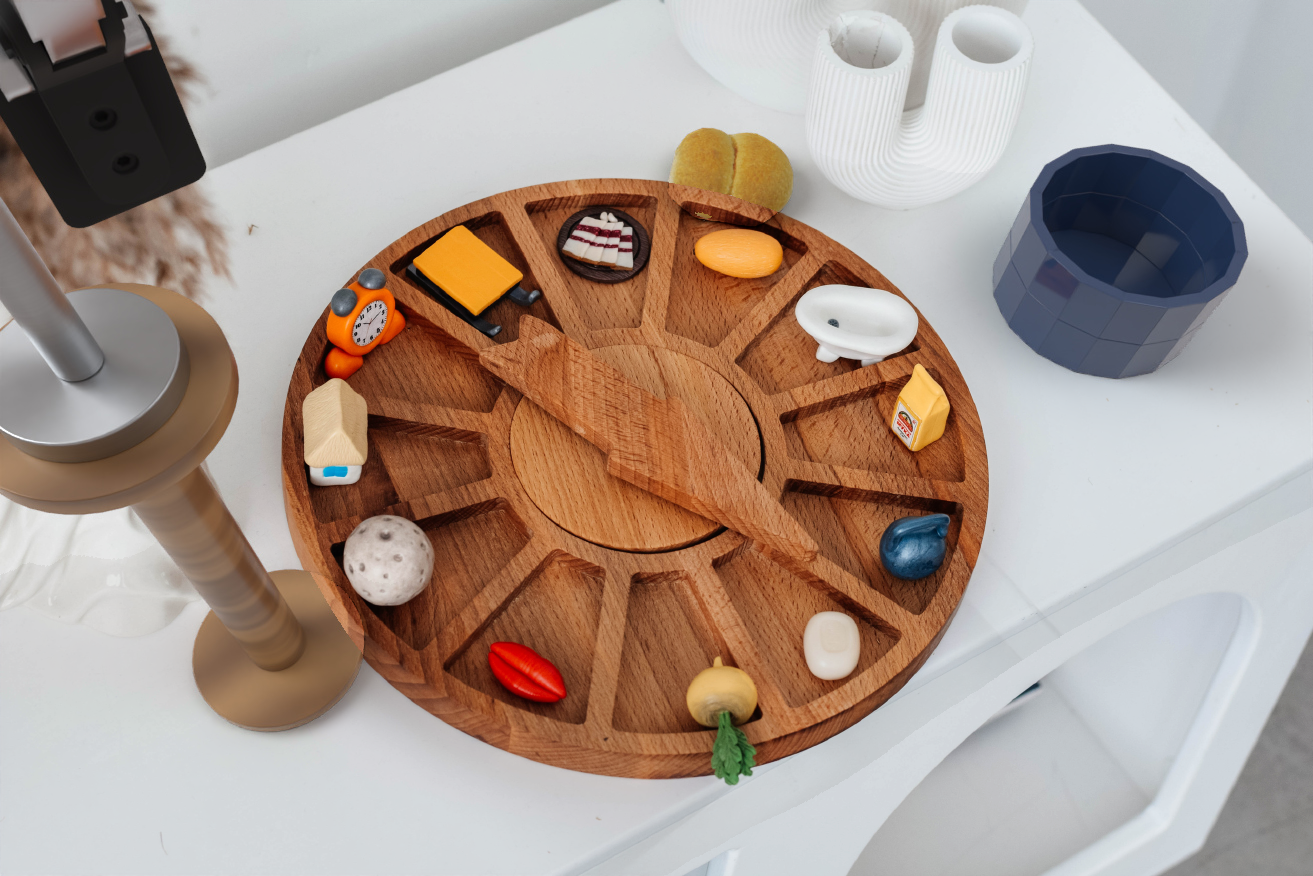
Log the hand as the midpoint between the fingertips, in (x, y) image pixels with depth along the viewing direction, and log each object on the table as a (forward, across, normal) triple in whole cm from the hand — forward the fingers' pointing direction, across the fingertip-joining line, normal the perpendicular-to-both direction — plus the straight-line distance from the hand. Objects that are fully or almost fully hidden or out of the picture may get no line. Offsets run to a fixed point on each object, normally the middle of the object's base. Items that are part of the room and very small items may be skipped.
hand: (57, 70), depth 26 cm
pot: (+39, -7, -53) cm, 66 cm away
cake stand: (+39, +2, +4) cm, 39 cm away
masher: (+13, +2, +4) cm, 14 cm away
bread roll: (+39, +16, -38) cm, 57 cm away
